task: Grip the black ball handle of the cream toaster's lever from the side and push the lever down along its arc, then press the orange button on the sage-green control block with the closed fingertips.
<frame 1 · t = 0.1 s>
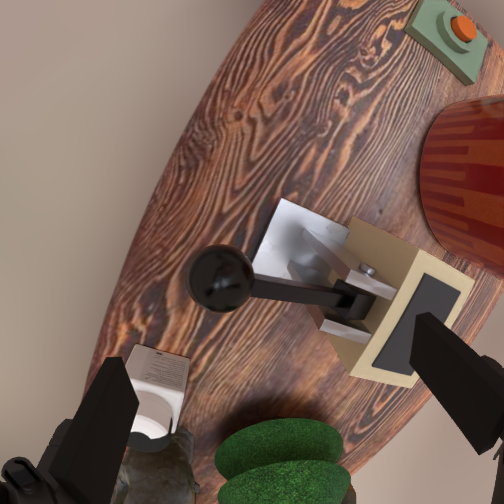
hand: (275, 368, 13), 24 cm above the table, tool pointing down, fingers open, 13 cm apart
planter: (474, 180, 36), on the table
sculpture: (161, 439, 45), on the table
control block: (445, 36, 30), on the table
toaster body: (383, 295, 31), on the table
metal lever stand: (309, 251, 37), on the table
cancel button: (463, 28, 26), point 4 cm above the table, slide at 0.1 cm
container: (159, 370, 41), on the table
decorative tree: (275, 430, 45), on the table
toaster lever: (297, 291, 20), point 17 cm above the table, hinge at 28.0°
decorative stone: (321, 466, 49), on the table
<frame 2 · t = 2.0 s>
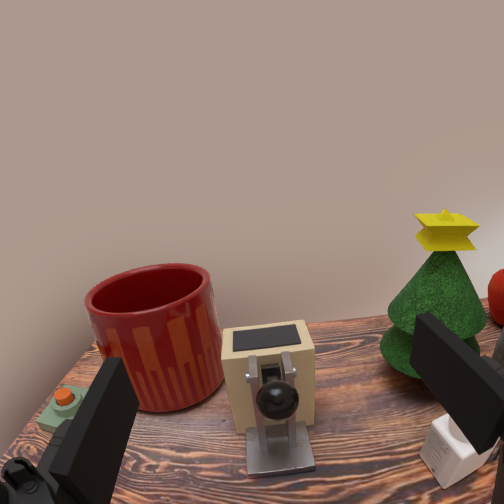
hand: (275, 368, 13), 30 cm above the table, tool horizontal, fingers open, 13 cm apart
planter: (170, 378, 58), on the table
control block: (73, 414, 46), on the table
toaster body: (269, 378, 44), on the table
metal lever stand: (277, 444, 40), on the table
cancel button: (64, 397, 45), point 4 cm above the table, slide at 0.1 cm
container: (451, 461, 29), on the table
decorative tree: (425, 373, 49), on the table
toaster lever: (273, 386, 30), point 17 cm above the table, hinge at 28.0°
apple: (503, 322, 56), on the table
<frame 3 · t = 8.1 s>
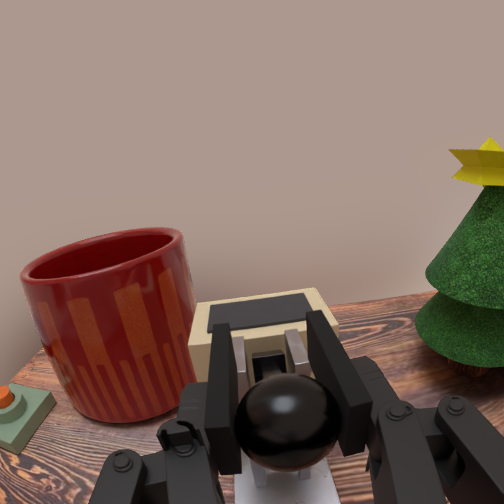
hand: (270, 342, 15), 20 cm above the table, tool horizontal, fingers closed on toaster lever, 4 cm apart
planter: (137, 377, 43), on the table
control block: (16, 420, 31), on the table
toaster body: (267, 377, 30), on the table
metal lever stand: (281, 473, 25), on the table
cancel button: (2, 397, 29), point 4 cm above the table, slide at 0.1 cm
decorative tree: (470, 362, 35), on the table
toaster lever: (275, 388, 15), point 17 cm above the table, hinge at 28.0°, touching gripper
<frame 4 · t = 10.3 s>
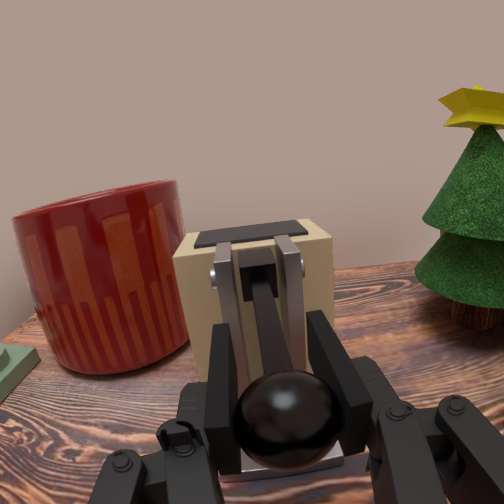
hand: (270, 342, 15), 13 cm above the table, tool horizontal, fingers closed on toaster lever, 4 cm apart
planter: (125, 335, 42), on the table
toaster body: (259, 312, 29), on the table
metal lever stand: (274, 423, 24), on the table
decorative tree: (474, 318, 34), on the table
toaster lever: (268, 327, 15), point 14 cm above the table, hinge at -4.4°, touching gripper
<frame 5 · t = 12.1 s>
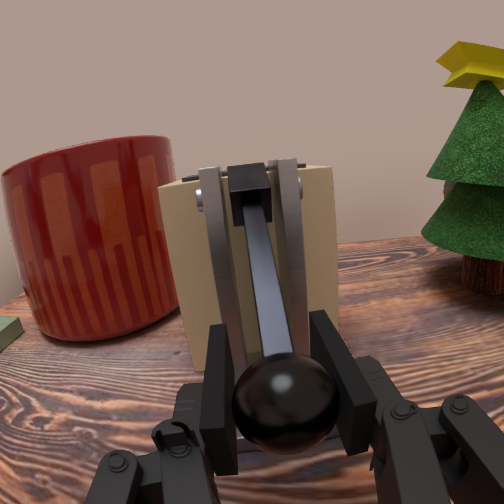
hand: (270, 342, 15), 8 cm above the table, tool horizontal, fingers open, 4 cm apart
planter: (114, 306, 40), on the table
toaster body: (253, 261, 27), on the table
metal lever stand: (271, 387, 22), on the table
decorative tree: (486, 284, 31), on the table
toaster lever: (263, 274, 14), point 11 cm above the table, hinge at -28.6°
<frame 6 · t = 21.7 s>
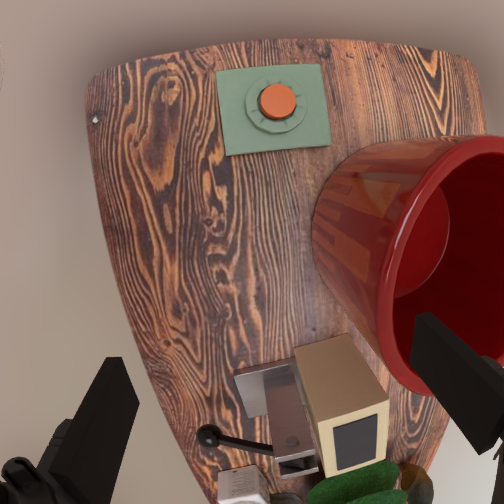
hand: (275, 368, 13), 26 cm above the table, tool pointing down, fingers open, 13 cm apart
planter: (390, 229, 39), on the table
sculpture: (276, 503, 55), on the table
control block: (272, 109, 34), on the table
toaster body: (339, 405, 37), on the table
metal lever stand: (280, 384, 44), on the table
cancel button: (277, 102, 30), point 4 cm above the table, slide at 0.1 cm
container: (243, 476, 51), on the table
decorative tree: (346, 466, 52), on the table
toaster lever: (248, 445, 34), point 11 cm above the table, hinge at -28.6°
decorative stone: (403, 463, 54), on the table
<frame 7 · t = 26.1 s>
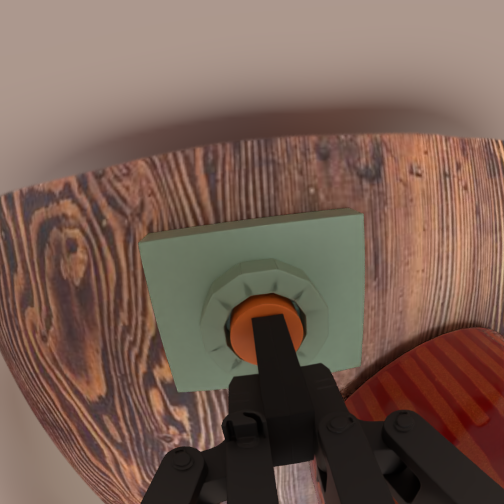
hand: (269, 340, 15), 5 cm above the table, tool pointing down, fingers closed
planter: (417, 420, 25), on the table
control block: (259, 299, 19), on the table
cancel button: (265, 328, 16), point 4 cm above the table, slide at -0.7 cm, touching gripper
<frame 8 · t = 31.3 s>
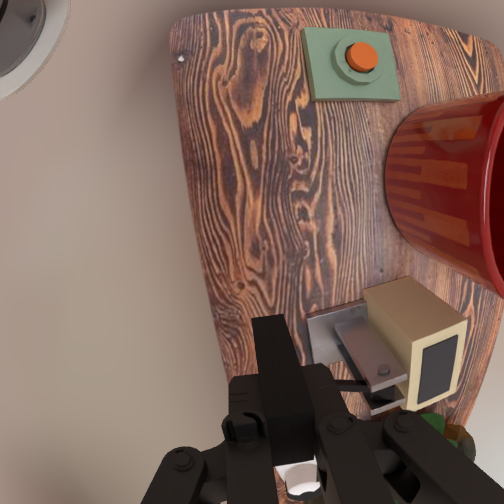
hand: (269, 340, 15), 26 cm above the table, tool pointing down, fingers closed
planter: (443, 180, 40), on the table
control block: (349, 66, 35), on the table
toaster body: (410, 341, 38), on the table
metal lever stand: (347, 329, 45), on the table
cancel button: (362, 57, 31), point 4 cm above the table, slide at 0.1 cm
container: (295, 441, 52), on the table
decorative tree: (393, 427, 54), on the table
toaster lever: (332, 385, 35), point 11 cm above the table, hinge at -28.6°
decorative stone: (441, 425, 56), on the table
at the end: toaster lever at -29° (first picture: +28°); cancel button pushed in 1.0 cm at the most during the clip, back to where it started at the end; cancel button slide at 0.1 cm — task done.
